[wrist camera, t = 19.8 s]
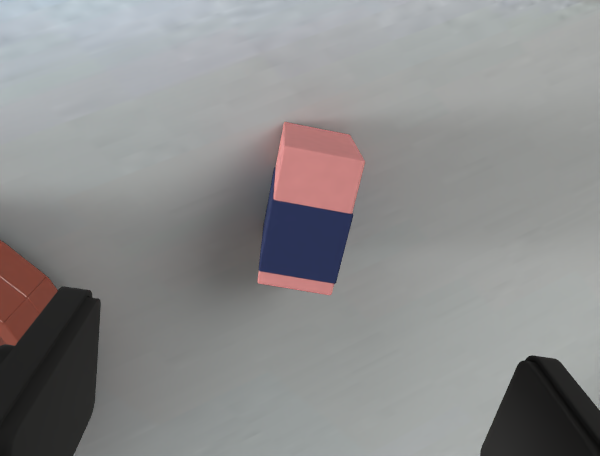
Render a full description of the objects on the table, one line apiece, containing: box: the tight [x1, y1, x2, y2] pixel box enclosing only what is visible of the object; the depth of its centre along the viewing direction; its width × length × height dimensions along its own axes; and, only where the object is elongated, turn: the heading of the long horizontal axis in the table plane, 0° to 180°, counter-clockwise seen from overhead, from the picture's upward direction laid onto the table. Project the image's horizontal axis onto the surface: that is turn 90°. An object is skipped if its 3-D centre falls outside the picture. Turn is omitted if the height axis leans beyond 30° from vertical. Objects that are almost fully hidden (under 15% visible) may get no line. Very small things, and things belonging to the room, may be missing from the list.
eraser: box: [258, 122, 365, 295], centre depth 23 cm, size 6×3×5 cm, turn 169°
